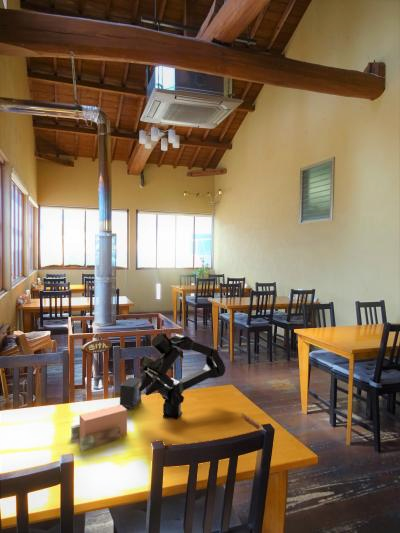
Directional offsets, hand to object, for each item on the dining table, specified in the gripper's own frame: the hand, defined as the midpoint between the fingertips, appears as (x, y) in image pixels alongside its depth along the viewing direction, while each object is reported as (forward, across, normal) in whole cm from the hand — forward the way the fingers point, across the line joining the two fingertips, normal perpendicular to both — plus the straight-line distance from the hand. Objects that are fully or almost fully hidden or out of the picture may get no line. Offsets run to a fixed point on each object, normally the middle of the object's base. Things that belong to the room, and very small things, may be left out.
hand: (143, 392), depth 144 cm
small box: (+6, -19, +12) cm, 24 cm away
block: (+20, 0, -2) cm, 21 cm away
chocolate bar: (-16, +24, +35) cm, 45 cm away
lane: (+22, 0, -5) cm, 23 cm away
